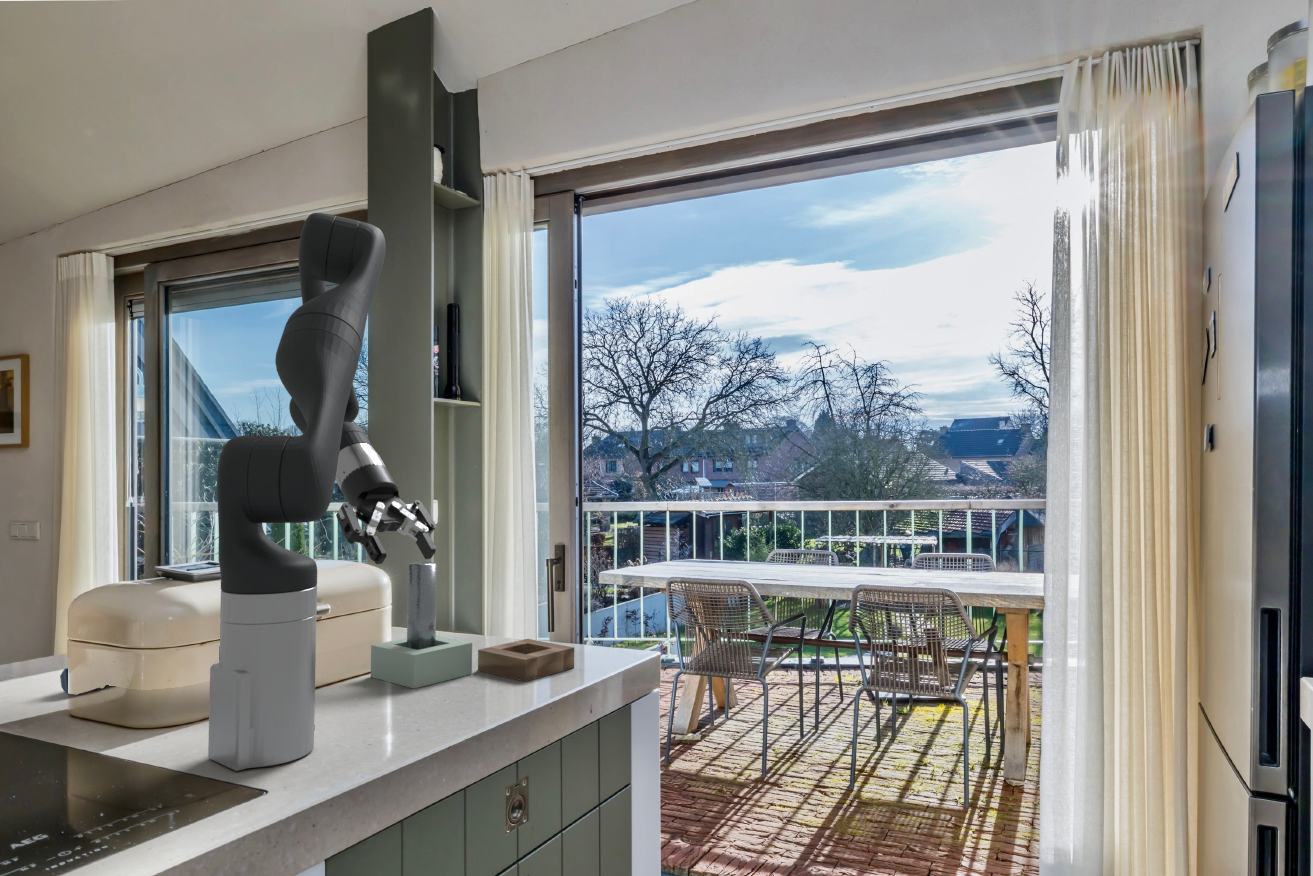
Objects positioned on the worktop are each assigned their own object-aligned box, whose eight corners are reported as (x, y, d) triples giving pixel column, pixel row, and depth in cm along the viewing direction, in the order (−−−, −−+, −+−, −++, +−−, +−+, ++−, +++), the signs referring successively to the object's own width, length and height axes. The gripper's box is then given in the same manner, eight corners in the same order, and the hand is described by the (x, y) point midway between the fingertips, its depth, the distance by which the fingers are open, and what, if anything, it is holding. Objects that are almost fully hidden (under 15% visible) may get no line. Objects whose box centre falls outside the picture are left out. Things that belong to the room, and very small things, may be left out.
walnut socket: (525, 681, 116) (525, 659, 116) (477, 670, 122) (478, 649, 122) (574, 667, 124) (574, 647, 124) (527, 657, 130) (527, 638, 130)
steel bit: (417, 680, 116) (419, 566, 117) (400, 675, 118) (402, 563, 119) (440, 674, 119) (442, 563, 120) (423, 670, 122) (425, 561, 122)
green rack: (413, 688, 112) (414, 655, 112) (370, 676, 118) (371, 644, 118) (471, 674, 120) (472, 642, 120) (428, 663, 126) (428, 633, 126)
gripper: (331, 461, 122) (375, 544, 115) (413, 462, 133) (458, 537, 126) (311, 496, 125) (353, 579, 118) (392, 494, 136) (435, 570, 129)
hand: (407, 558), depth 122 cm, fingers open, 8 cm apart
